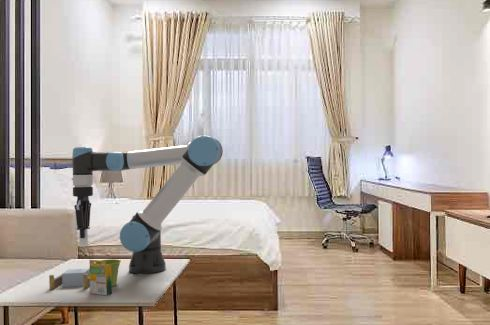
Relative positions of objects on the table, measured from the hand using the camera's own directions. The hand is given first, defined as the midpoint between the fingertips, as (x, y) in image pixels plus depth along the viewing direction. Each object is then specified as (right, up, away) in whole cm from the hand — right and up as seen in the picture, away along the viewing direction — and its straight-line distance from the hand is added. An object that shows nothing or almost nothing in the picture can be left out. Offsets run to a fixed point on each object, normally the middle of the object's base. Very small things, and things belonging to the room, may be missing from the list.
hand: (83, 246), depth 194 cm
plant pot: (+14, -12, -14) cm, 23 cm away
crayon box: (+14, -12, -26) cm, 32 cm away
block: (+1, -13, -10) cm, 16 cm away
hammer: (+1, -12, -11) cm, 17 cm away
